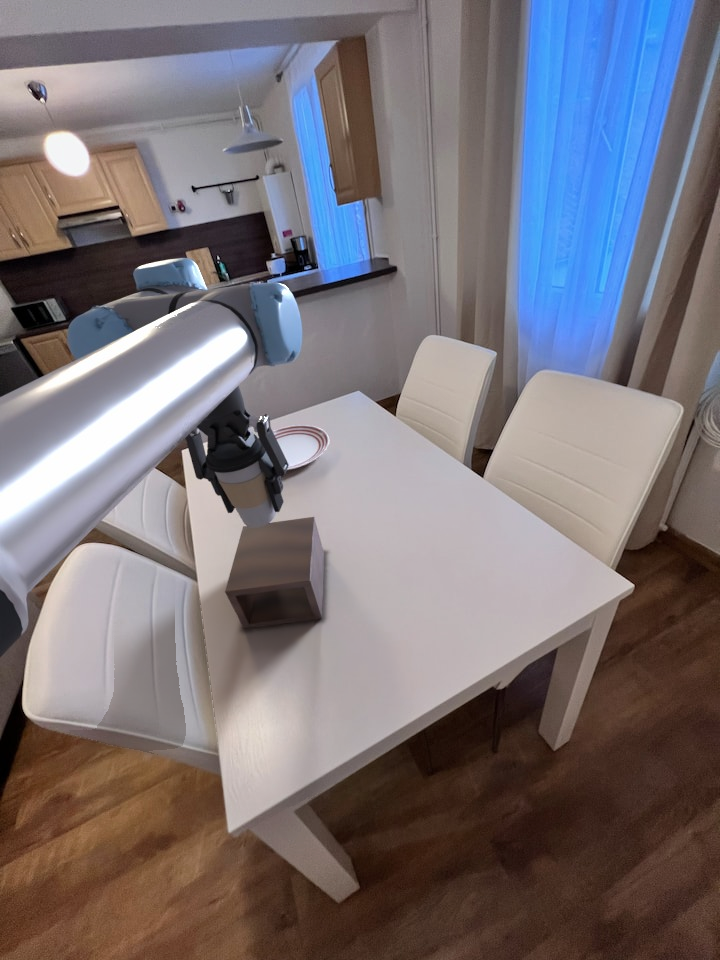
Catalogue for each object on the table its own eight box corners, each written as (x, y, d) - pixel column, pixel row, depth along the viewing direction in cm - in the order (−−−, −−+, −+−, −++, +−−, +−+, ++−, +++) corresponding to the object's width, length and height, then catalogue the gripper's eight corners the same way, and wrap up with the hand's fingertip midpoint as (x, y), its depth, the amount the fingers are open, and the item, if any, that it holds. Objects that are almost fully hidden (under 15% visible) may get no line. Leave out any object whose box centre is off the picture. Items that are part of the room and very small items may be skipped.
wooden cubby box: (322, 618, 80) (310, 580, 73) (243, 628, 81) (224, 591, 74) (324, 553, 95) (314, 516, 88) (257, 562, 95) (242, 526, 89)
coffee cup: (281, 494, 76) (259, 423, 67) (290, 524, 68) (266, 450, 59) (231, 509, 74) (201, 439, 65) (234, 542, 66) (201, 468, 58)
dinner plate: (337, 464, 125) (335, 455, 123) (250, 486, 122) (246, 477, 120) (323, 426, 147) (322, 418, 145) (249, 443, 144) (246, 435, 142)
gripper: (286, 367, 57) (318, 492, 71) (157, 379, 61) (210, 495, 75) (270, 390, 52) (308, 521, 65) (129, 401, 55) (191, 522, 69)
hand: (255, 507), depth 70 cm, fingers closed on coffee cup, 8 cm apart
